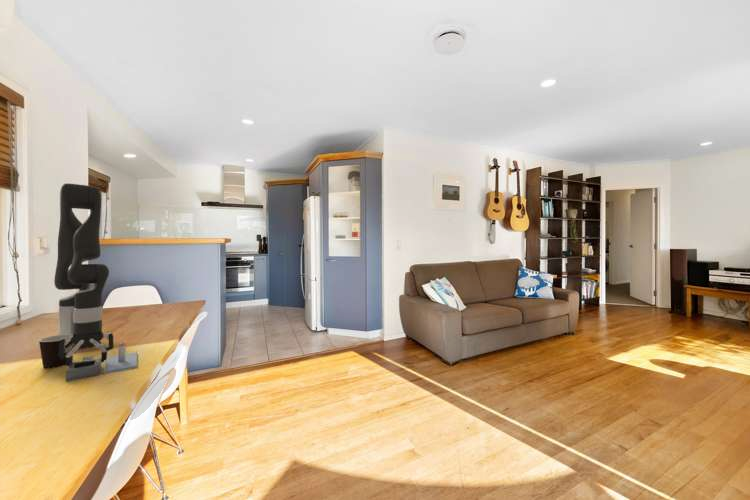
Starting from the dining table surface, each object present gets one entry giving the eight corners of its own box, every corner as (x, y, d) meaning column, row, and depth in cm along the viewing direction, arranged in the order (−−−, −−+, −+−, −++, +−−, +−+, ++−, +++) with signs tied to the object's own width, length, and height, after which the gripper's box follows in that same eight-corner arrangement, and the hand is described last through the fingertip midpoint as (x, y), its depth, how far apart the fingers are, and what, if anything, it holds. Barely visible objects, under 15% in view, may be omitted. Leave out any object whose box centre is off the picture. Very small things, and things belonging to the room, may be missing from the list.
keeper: (107, 358, 114) (107, 339, 114) (137, 354, 120) (137, 335, 120) (103, 373, 102) (103, 351, 102) (136, 367, 107) (137, 346, 107)
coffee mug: (50, 371, 102) (50, 342, 102) (31, 368, 104) (32, 340, 104) (88, 358, 114) (89, 333, 114) (71, 356, 115) (72, 331, 115)
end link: (73, 366, 106) (73, 357, 106) (103, 362, 111) (103, 352, 111) (65, 381, 95) (65, 371, 95) (99, 375, 100) (99, 365, 100)
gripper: (115, 314, 113) (114, 356, 113) (61, 319, 104) (60, 365, 104) (113, 319, 107) (112, 363, 107) (56, 324, 98) (55, 372, 98)
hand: (87, 364), depth 106 cm, fingers open, 8 cm apart
